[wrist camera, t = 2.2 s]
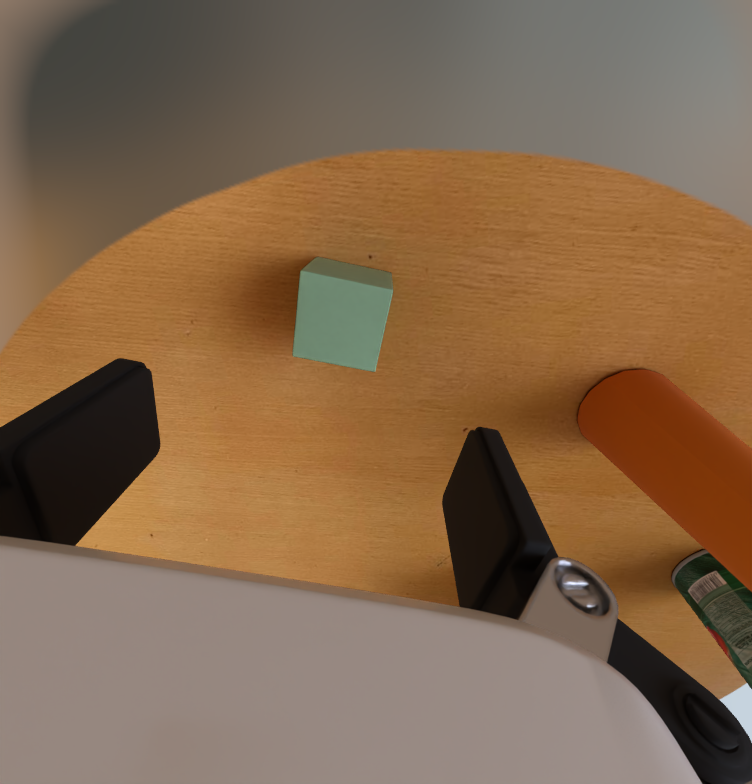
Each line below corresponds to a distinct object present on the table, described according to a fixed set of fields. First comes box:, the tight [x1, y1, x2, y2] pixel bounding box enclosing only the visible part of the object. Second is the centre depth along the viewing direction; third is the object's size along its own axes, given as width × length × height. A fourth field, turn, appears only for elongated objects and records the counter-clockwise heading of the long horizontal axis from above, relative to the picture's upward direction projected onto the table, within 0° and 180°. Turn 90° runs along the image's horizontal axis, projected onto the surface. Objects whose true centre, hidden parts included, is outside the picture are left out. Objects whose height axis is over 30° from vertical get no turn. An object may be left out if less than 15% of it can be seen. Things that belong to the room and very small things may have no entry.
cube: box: [292, 257, 393, 372], centre depth 22 cm, size 5×5×5 cm
